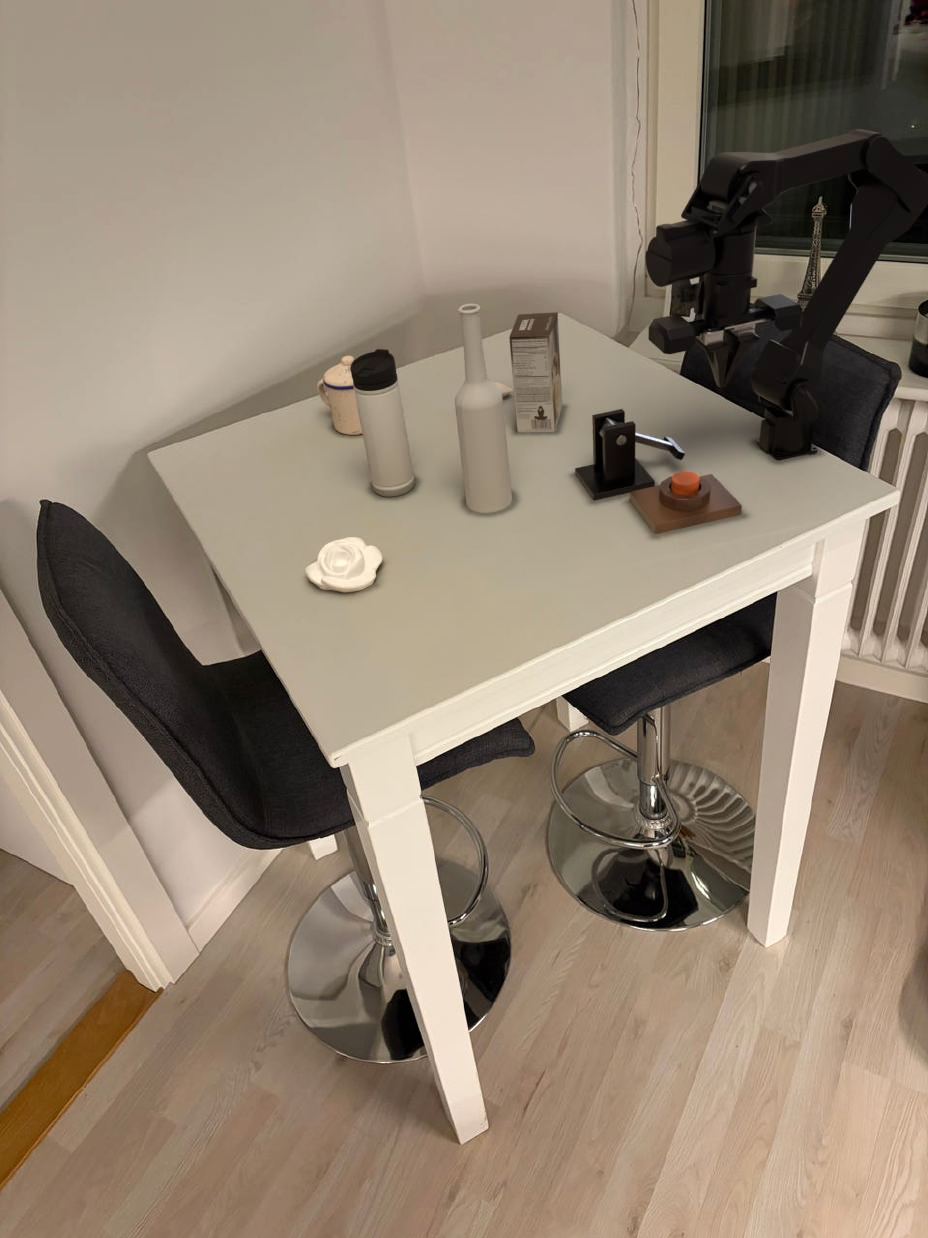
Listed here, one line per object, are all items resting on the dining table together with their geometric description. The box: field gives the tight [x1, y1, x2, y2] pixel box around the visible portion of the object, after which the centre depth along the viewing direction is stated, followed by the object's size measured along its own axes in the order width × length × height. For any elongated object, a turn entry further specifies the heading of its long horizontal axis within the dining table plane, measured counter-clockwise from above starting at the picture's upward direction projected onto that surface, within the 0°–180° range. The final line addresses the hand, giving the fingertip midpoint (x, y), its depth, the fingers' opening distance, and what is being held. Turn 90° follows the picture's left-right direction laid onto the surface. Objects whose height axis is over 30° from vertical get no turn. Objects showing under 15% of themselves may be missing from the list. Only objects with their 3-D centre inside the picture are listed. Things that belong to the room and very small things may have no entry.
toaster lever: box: [599, 418, 686, 461], centre depth 129 cm, size 12×5×2 cm, turn 105°
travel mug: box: [350, 348, 416, 498], centre depth 132 cm, size 6×7×20 cm
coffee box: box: [508, 311, 563, 433], centre depth 145 cm, size 9×6×16 cm
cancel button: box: [671, 470, 700, 495], centre depth 123 cm, size 4×4×2 cm
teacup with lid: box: [316, 355, 363, 436], centre depth 153 cm, size 12×9×12 cm
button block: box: [629, 473, 743, 535], centre depth 124 cm, size 12×9×4 cm
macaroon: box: [492, 381, 514, 399], centre depth 157 cm, size 4×5×2 cm
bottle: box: [454, 303, 513, 514], centre depth 123 cm, size 7×7×28 cm
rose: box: [304, 536, 383, 593], centre depth 120 cm, size 10×4×10 cm
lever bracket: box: [574, 408, 656, 501], centre depth 129 cm, size 9×8×10 cm
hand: (720, 385), depth 124 cm, fingers closed
